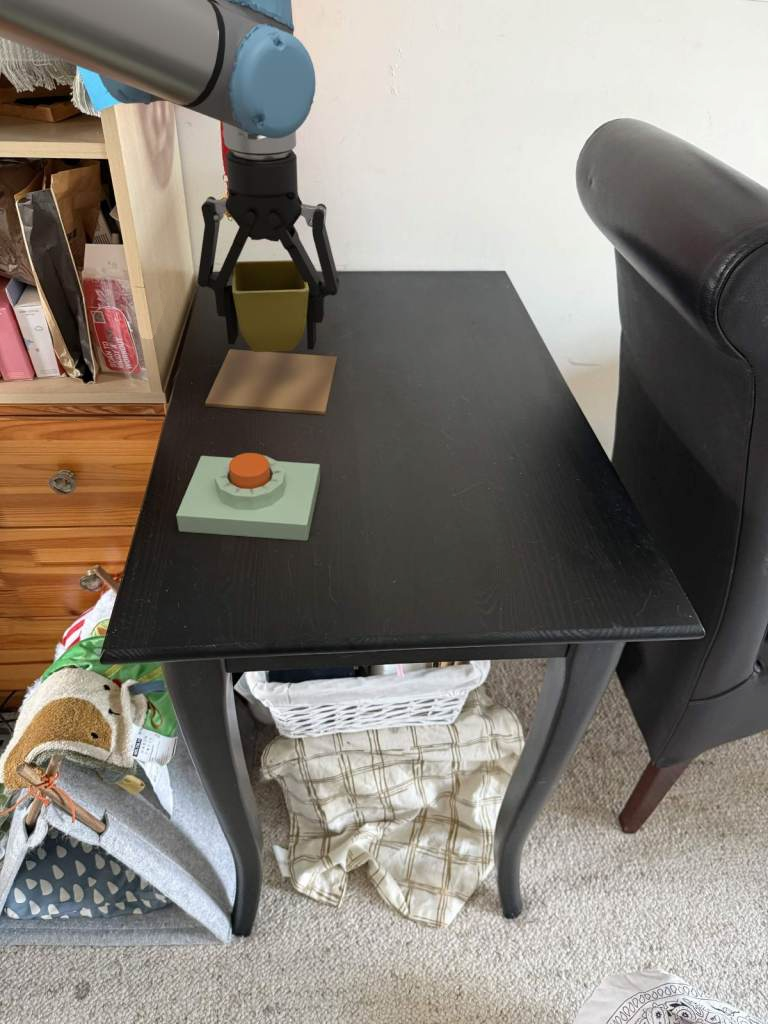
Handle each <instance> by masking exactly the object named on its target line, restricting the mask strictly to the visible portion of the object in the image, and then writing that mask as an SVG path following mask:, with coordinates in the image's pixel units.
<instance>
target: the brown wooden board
mask: <svg viewBox="0 0 768 1024" xmlns="http://www.w3.org/2000/svg"><path fill="white" fill-rule="evenodd" d="M337 363H338V356H335V355H334V356H333V355H319V354H318V355H317V354H305V353H303V354H302V353H290V352H289V353H288V352H277V351H272V352H254V351H253V350H245V349H231V348H229V350H228V352H227V354H226V356H225V358H224V361H223V363H222V365H221V367H220V369H219V371H218V374H217V376H216V378H215V380H214V383H213V385H212V387H211V389H210V391H209V393H208V396H207V398H206V400H205V401H204V405H205V407H211V408H225V409H236V410H237V409H238V410H239V409H240V410H252V411H264V412H265V411H268V412H278V413H279V412H280V413H281V412H282V413H293V414H308V415H310V414H311V415H326V413H327V408H328V404H329V400H330V399H329V398H330V395H331V391H332V386H333V381H334V377H335V372H336V367H337Z"/></svg>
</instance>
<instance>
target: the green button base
mask: <svg viewBox="0 0 768 1024" xmlns="http://www.w3.org/2000/svg"><path fill="white" fill-rule="evenodd" d="M262 455H263V454H262ZM263 456H264V457H266V458H267V459H268V461H269V468H270V479H269V481H268V483H267V484H265V485H264V486H261V487H257V488H254V489H243V488H238V487H236V486H234V485H233V484H232V482H231V479H230V471H229V463H230V461H231V460H232V459H233V458H234V457H224V456H211V455H201V456H200V457H199V460H198V462H197V465H196V467H195V469H194V472H193V474H192V477H191V479H190V481H189V484H188V486H187V489H186V491H185V493H184V496H183V498H182V500H181V503H180V505H179V507H178V510H177V513H176V515H175V516H176V517H175V518H176V522H177V527H178V532H181V533H182V532H184V533H194V534H195V533H196V534H209V535H220V536H221V535H223V536H236V537H237V536H238V537H251V538H263V539H278V540H289V541H291V540H293V541H302V542H303V541H305V542H308V541H309V536H310V532H311V527H312V520H313V516H314V511H315V506H316V503H317V497H318V492H319V487H320V481H321V465H320V463H307V462H294V461H293V462H292V461H291V462H290V461H281V460H280V461H279V460H276V459H273V458H272V457H270V456H267V455H265V454H264V455H263Z"/></svg>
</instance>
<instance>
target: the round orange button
mask: <svg viewBox="0 0 768 1024" xmlns="http://www.w3.org/2000/svg"><path fill="white" fill-rule="evenodd" d="M264 456H265V455H264ZM264 456H263V454H260V453H256V452H244V453H241V454H238V455H236V456H233V457H232V458H233V459H232V460H231V461H230V463H229V471H230V479H231V482H232V484H233V485H234V486H236V487H238V488H243V489H254V488H257V487H261V486H264V485H265V484H267V483H268V481H269V479H270V468H269V461H268V459H267V458H266V457H264Z"/></svg>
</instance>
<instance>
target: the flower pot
mask: <svg viewBox="0 0 768 1024" xmlns="http://www.w3.org/2000/svg"><path fill="white" fill-rule="evenodd" d="M231 277H232V278H231V280H232V281H231V282H232V285H231V286H232V292H233V297H234V302H235V308H236V313H237V321H238V328H239V330H240V333H241V335H242V337H243V340H244V341H245V343H246V344H247V346H248V348H250V349H251V351H254V352H291V351H294V350H295V349H296V347H297V346H298V345H299V343H300V341H301V339H302V338H303V335H304V332H305V329H306V326H307V305H308V294H309V287H308V283H307V282H304V280H303V278H302V277H301V275H300V273H299V271H298V269H297V268H296V266H295V264H294V262H293V260H292V259H286V260H285V259H283V260H282V259H281V260H242V261H239V260H238V261H237V263H236V265H235V267H234V269H233V271H232V274H231Z"/></svg>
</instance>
